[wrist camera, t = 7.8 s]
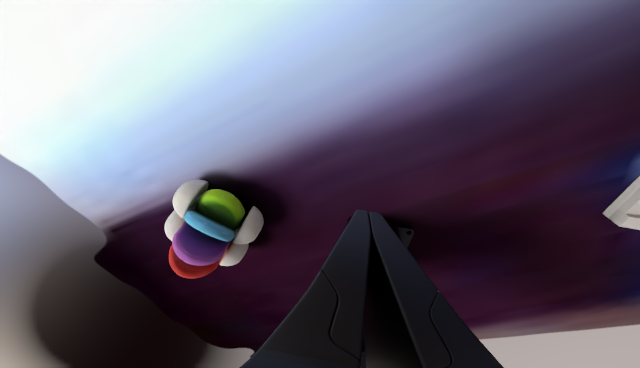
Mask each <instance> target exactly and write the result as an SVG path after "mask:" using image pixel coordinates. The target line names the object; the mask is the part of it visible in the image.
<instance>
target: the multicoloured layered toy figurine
mask: <svg viewBox="0 0 640 368" xmlns="http://www.w3.org/2000/svg"><path fill="white" fill-rule="evenodd" d="M207 188H208V182H207V181H204V180H191V181H188V182H186V183H184V184H182V185H181V186H180V187H179V189H178V190H177V191H176V193H175V195H174V197H173V207H174V209H175V210H174V211H173V212H172V214H171V215H170V216H169V217H168V219H167V221H166V223H165V233H166V235H167V237H168V238H169V239H170V240H171V241H172V246H171V248H170V251H169V262H170V265H171V267H172V269H173V270H174V271H175V273H176V274H178V275H179V276H181V277H184V278H199V277H203V276H205V275H207V274H209V273H211V272H212V271H213V270H215V269H216V268H217V266H218V264H220V265H222V266H232V265H235V264H237V263H239V262H240V261H241V260H242V258H243V256H244V255H245V253H246V251H247V249H248V243H250V242H252V241H254V240H255V239H256V237H257V236H258V234H259V232H260V231H261V229H262V226H263V223H264V221H263V216H262V214H261V212H260V211H259V210H258V208H256V207H255V206H253V207H252V208H251V210H250V212H249V213H248V215H247V217H246V218H245V219H244V221H243V223H242V225H241V226H240V224H241V221H242V218H243V217H244V215H245V210H244V208H243V206H242V204H241V202H240V201H239V200H238V199H237V198H236V197H235V196H234V195H233V194H231V193H229V192H227V191H224V190H220V189H212V190H208V191H207ZM232 239H233V240H232Z"/></svg>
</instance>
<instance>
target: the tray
mask: <svg viewBox="0 0 640 368" xmlns="http://www.w3.org/2000/svg"><path fill="white" fill-rule="evenodd" d="M602 214H604V215H605V216H606V217H607V218H609V219H610V220H611V221H613V222H614V223H615V224H617V225H618V226H620V227H626V228H632V229H638V230H640V176H639V177H638V178H637V179H636V180H635V181H634V182H633V183H632V184H631V185H630V186H629V187H628V188H627V189H626V190H625V191H624V192H623V193H622V194H621V195H620V196H619V197H618V198H617V199H616V200H615V201H614V202H613V203H612V204H611V205H610V206H609V207H608V208H607V209H606V210H605V211H604V212H603V213H602Z"/></svg>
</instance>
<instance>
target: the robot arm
mask: <svg viewBox="0 0 640 368" xmlns="http://www.w3.org/2000/svg"><path fill="white" fill-rule="evenodd" d="M407 231H409V232H407ZM413 235H414V229H413V228H412V227H411V226H406V225H400V224H394V223H388V222H386V220H385V219H384V218H383V216H382V215H381V214H380V213H376V212H367V211H364V210H356V211H355V213H354V215H353V216H352V217H350V218H349V219H348V222H347V226H346V228H345V230H344V231H343V233H342V235H341V236H340V238H339V239H338V241H337V243H336V244H335V246H334V248H333V249H332V251H331V253H330V254H329V256H328V258H327V259H326V261H325V263H324V264H323V266H322V268H321V269H320V271H319V272H318V274H317V276H316V277H315V279H314V280H313V282H312V283H311V285H310V287H309V288H308V290H307V291H306V293H305V294H304V295H303V296H302V298H301V299H300V300H299V302H298V303H297V304H296V306H295V307H294V308H293V309H292V310H291V312H290V313H289V314H288V315H287V316H286V318H285V319H284V320H283V321H282V322H281V324H280V325H279V326H278V327H277V328H276V330H275V331H274V332H273V333H272V335H271V336H270V337H269V338H268V339H267V341H266V342H265V343H264V344H263V345H262V346H261V347H260V349H259V350H258V351H257V352H256V353H255V354H254V355H253V356H252V357H251V358H250V359H249V360H248V361H247V362H246V363H245V364H243V365H242V366H241V367H240V368H503V367H502V365H501V364H500V363H499V362H498V361H497V360H496V359H495V357H494V356H493V355H492V354H491V353H490V352H489V351H488V350H487V348H485V346H484V345H483V344H482V343H481V342H480V341H479V339H478V338H477V337H476V336H475V335H474V334H473V332H472V331H471V330H470V329H469V328H468V327H467V325H466V324H465V323H464V322H463V321H462V319H461V318H460V317H459V316H458V314H457V313H456V312H455V311H454V309H453V308H452V307H451V306H450V304H449V303H448V302H447V300H446V299H445V298H444V297H443V295H442V294H441V293H440V292H438V289H437V287H436V286H435V285H434V284H433V282H432V281H431V280H430V278H429V277H428V276H427V274H426V273H425V272H424V270H423V269H422V268H421V266H420V265H419V264H418V262H417V261H416V260H415V259H414V257H413V256H412V255H411V253H410V252H409V251H408V249H407V248H408V246H409V244H410V241H411V239H412V237H413Z"/></svg>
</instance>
